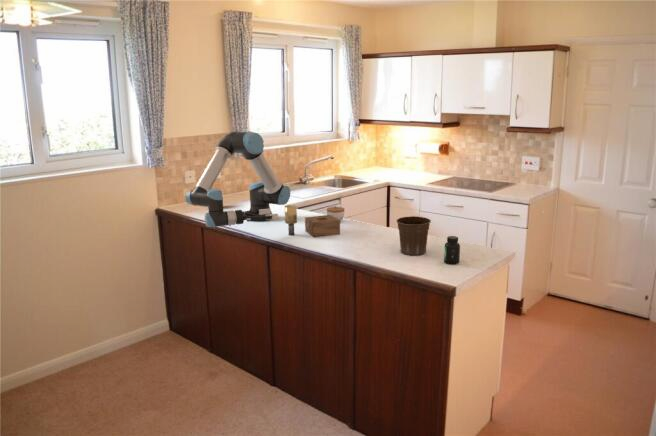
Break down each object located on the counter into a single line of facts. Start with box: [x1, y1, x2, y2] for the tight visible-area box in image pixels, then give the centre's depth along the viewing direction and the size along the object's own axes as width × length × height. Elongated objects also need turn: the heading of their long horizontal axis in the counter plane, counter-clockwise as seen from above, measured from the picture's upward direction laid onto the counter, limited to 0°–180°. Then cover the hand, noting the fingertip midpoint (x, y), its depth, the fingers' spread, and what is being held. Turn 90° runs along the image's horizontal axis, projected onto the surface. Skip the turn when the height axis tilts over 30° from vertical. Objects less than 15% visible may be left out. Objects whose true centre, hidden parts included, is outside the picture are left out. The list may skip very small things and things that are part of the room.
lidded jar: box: [326, 205, 345, 223], centre depth 324 cm, size 11×11×9 cm
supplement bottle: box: [443, 235, 461, 266], centre depth 245 cm, size 7×7×12 cm
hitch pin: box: [284, 204, 298, 236], centre depth 295 cm, size 6×6×16 cm
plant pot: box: [396, 216, 432, 257], centre depth 260 cm, size 16×16×16 cm
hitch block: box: [304, 214, 341, 238], centre depth 299 cm, size 15×15×8 cm
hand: (274, 213), depth 291 cm, fingers open, 13 cm apart
